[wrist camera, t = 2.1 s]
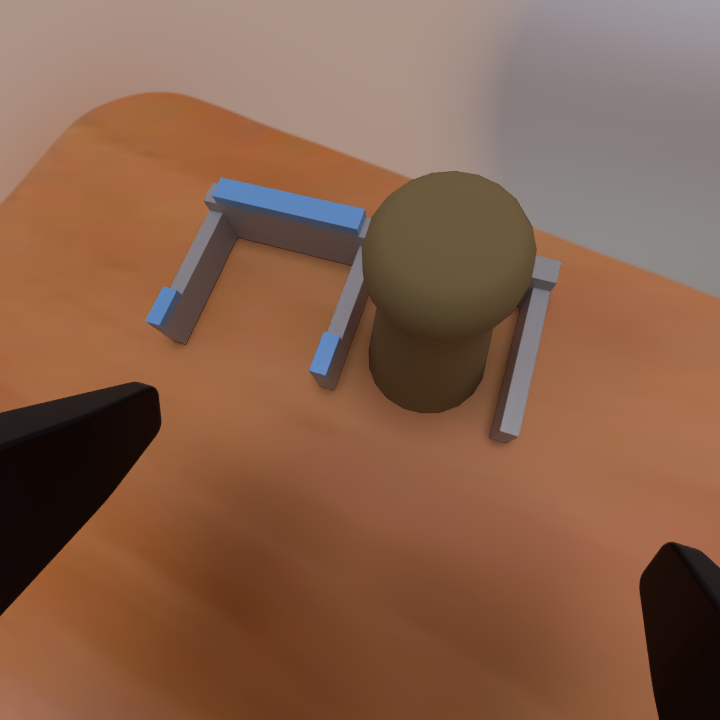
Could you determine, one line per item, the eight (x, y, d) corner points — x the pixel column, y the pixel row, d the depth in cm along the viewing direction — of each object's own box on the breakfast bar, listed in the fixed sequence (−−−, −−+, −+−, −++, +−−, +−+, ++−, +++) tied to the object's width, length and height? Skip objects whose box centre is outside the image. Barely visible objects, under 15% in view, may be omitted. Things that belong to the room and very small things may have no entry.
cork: (348, 336, 22) (304, 195, 12) (444, 284, 23) (484, 105, 12) (405, 435, 20) (412, 369, 10) (509, 376, 21) (620, 255, 10)
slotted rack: (173, 340, 23) (134, 313, 20) (233, 217, 25) (208, 174, 22) (506, 443, 20) (528, 431, 16) (540, 291, 22) (566, 253, 19)
